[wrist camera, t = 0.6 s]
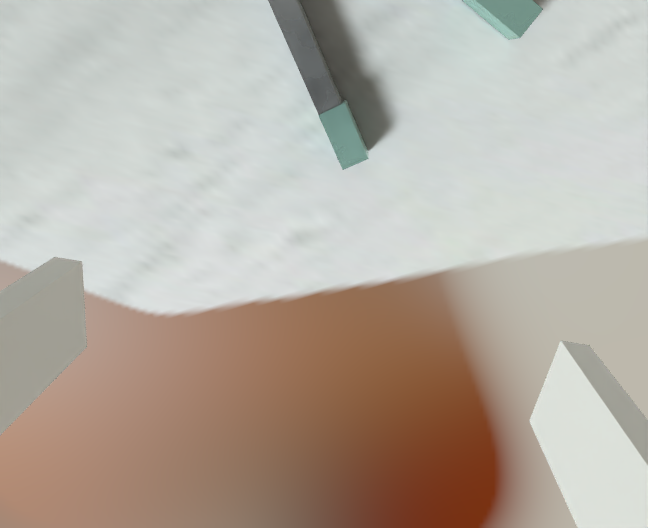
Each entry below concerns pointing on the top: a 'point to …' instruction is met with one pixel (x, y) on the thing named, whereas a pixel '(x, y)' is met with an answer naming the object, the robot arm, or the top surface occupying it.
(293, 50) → the arm
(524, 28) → the tongs free arm
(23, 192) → the top surface
